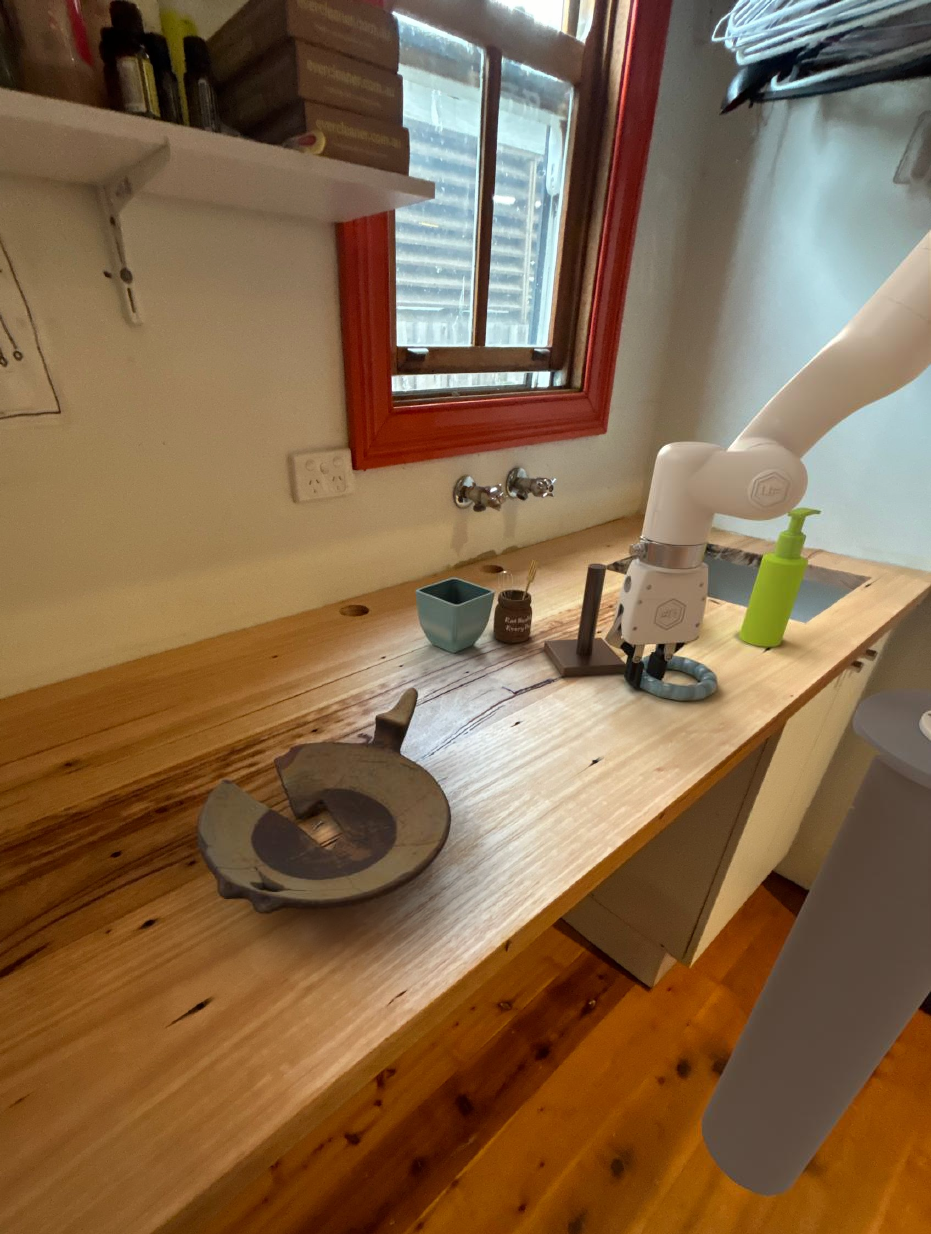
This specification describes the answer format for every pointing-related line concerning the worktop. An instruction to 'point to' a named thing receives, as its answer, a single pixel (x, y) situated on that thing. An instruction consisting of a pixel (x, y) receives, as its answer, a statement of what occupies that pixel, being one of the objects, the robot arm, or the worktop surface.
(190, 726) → the worktop surface
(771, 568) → the soap dispenser
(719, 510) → the robot arm
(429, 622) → the flower pot
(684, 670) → the ring
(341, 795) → the oil lamp
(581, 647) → the peg stand
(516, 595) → the utensil holder
